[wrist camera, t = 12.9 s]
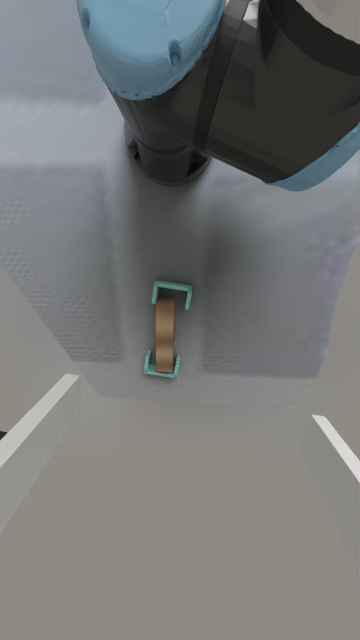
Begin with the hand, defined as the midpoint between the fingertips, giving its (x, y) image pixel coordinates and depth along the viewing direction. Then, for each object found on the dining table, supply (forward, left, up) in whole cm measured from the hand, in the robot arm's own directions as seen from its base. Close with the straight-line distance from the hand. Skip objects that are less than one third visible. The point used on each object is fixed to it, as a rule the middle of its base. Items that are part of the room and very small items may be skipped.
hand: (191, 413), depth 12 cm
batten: (+9, -4, -34) cm, 36 cm away
